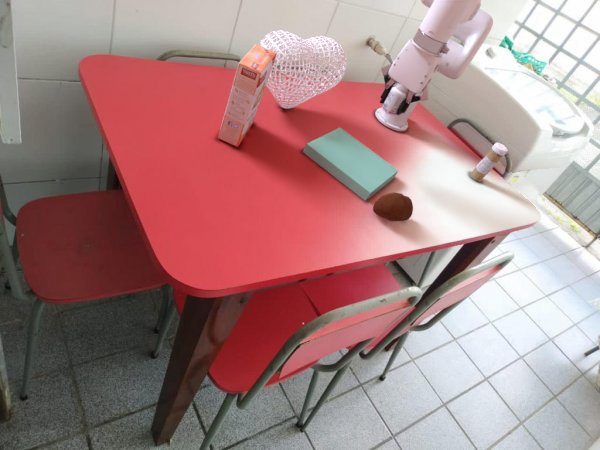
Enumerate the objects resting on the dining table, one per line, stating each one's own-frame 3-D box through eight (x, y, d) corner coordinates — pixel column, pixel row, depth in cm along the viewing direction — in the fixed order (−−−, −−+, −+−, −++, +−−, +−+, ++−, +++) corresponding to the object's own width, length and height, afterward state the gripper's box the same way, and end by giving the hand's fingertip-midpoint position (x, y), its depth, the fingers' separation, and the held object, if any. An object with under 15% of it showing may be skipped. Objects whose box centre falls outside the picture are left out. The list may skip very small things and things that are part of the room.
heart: (308, 94, 137) (335, 29, 122) (332, 122, 129) (364, 56, 115) (234, 91, 121) (254, 16, 106) (257, 124, 113) (282, 48, 98)
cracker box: (238, 148, 103) (262, 73, 89) (216, 139, 102) (237, 61, 88) (254, 123, 113) (278, 52, 99) (234, 114, 112) (255, 41, 99)
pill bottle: (398, 112, 112) (415, 85, 106) (394, 118, 108) (411, 90, 102) (383, 103, 112) (399, 76, 106) (379, 109, 108) (395, 80, 103)
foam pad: (335, 135, 125) (340, 127, 123) (393, 178, 119) (398, 170, 117) (302, 152, 112) (306, 143, 110) (365, 201, 107) (370, 193, 105)
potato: (412, 228, 106) (429, 207, 100) (376, 229, 100) (392, 206, 95) (398, 207, 110) (414, 186, 105) (364, 206, 105) (378, 184, 99)
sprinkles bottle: (475, 173, 141) (501, 142, 132) (483, 182, 139) (511, 151, 130) (466, 173, 139) (493, 141, 130) (475, 182, 136) (502, 151, 127)
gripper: (463, 59, 98) (421, 122, 110) (405, 23, 102) (371, 88, 114) (453, 63, 93) (411, 129, 105) (393, 25, 97) (359, 93, 109)
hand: (391, 107), depth 109 cm, fingers closed on pill bottle, 4 cm apart
